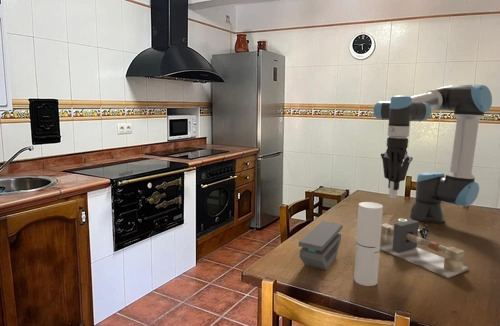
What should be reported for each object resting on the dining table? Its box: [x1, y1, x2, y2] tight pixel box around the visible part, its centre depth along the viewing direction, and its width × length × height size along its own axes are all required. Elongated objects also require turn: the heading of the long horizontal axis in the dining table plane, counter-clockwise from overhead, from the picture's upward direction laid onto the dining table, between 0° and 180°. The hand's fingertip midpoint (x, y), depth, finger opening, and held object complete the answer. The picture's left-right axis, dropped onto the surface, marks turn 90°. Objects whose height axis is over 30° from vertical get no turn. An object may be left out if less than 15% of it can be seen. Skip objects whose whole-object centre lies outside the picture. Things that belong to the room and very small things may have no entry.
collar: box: [392, 219, 420, 253], centre depth 141 cm, size 3×10×10 cm, turn 121°
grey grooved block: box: [298, 220, 343, 271], centre depth 131 cm, size 25×8×11 cm, turn 151°
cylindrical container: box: [353, 201, 384, 287], centre depth 117 cm, size 7×7×25 cm
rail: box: [380, 222, 470, 279], centre depth 137 cm, size 32×12×8 cm, turn 31°
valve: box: [397, 218, 430, 240], centre depth 158 cm, size 7×7×12 cm
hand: (392, 197), depth 144 cm, fingers closed
